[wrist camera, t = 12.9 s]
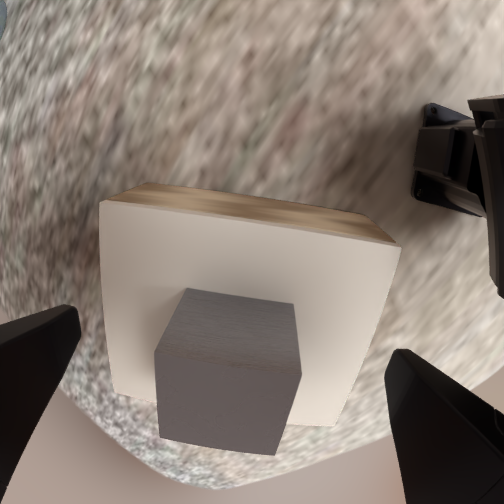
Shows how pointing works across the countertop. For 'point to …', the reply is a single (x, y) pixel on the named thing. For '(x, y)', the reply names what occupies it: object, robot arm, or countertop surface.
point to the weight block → (227, 372)
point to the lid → (242, 291)
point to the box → (253, 209)
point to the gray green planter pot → (2, 17)
